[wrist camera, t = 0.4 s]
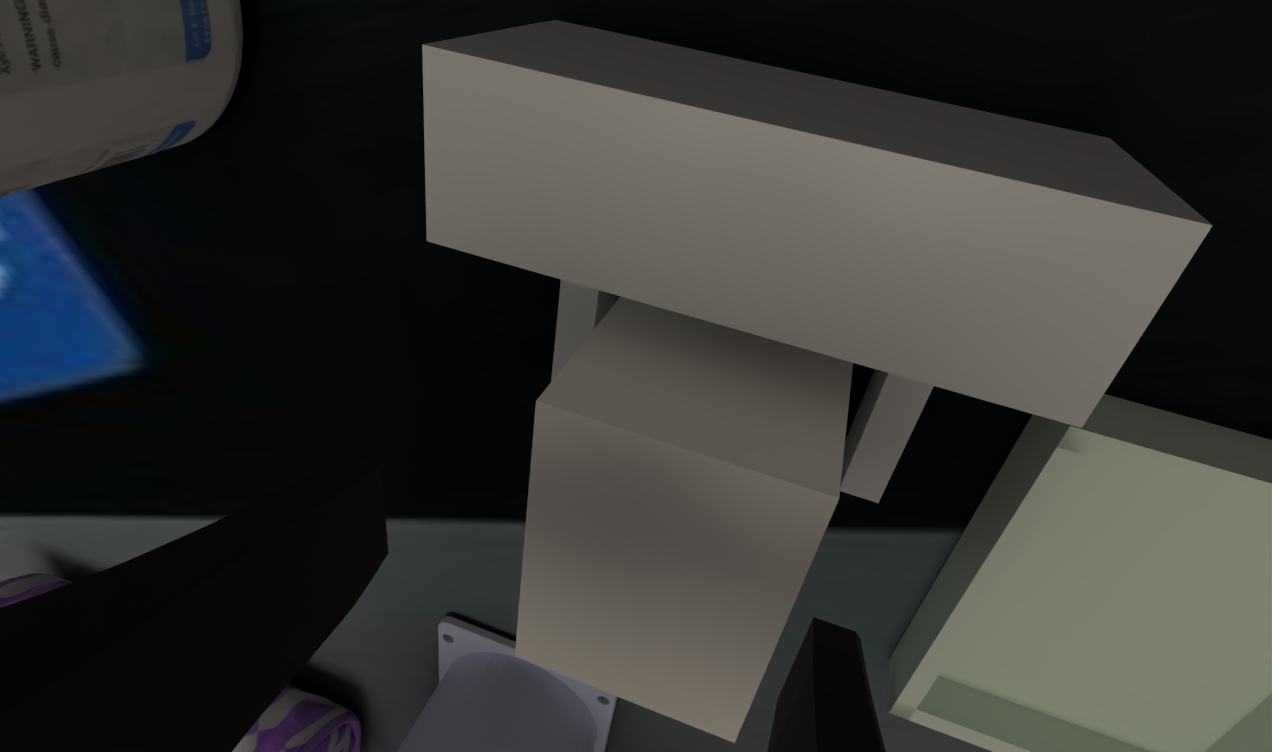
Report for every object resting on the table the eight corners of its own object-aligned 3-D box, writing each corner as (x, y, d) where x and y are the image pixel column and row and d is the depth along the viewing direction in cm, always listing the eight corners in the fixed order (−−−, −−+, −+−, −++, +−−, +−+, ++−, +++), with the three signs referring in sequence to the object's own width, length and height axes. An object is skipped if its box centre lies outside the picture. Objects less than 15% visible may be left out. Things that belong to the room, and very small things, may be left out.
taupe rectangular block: (779, 511, 21) (728, 757, 15) (626, 460, 22) (513, 671, 16) (860, 290, 17) (839, 498, 10) (666, 238, 18) (536, 400, 11)
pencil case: (79, 636, 43) (-97, 783, 36) (25, 531, 38) (-194, 676, 31) (388, 766, 39) (264, 966, 31) (372, 668, 34) (219, 877, 26)
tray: (1193, 767, 21) (1218, 835, 19) (889, 658, 23) (888, 712, 21) (1501, 503, 15) (1575, 570, 13) (1052, 379, 17) (1070, 425, 15)
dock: (934, 473, 19) (947, 635, 14) (530, 348, 21) (431, 456, 16) (1109, 137, 14) (1213, 225, 9) (555, 19, 16) (422, 44, 11)
